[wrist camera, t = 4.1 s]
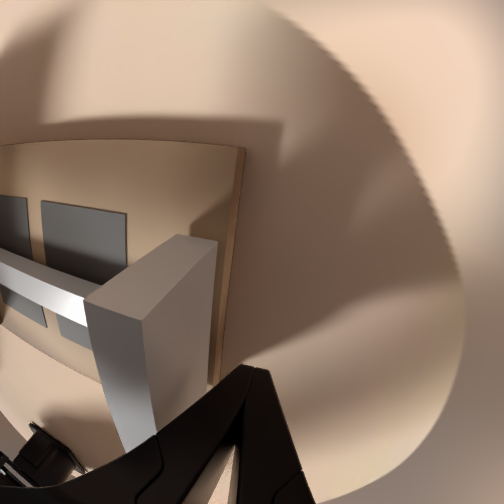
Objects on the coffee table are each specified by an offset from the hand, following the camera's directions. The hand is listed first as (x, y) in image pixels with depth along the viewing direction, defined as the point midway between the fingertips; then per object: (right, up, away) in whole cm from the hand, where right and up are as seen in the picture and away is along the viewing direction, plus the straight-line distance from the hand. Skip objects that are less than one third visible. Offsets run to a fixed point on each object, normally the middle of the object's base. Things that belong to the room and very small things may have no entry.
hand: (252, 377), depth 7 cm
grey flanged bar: (-11, +3, +3) cm, 12 cm away
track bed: (-13, +4, +4) cm, 15 cm away
